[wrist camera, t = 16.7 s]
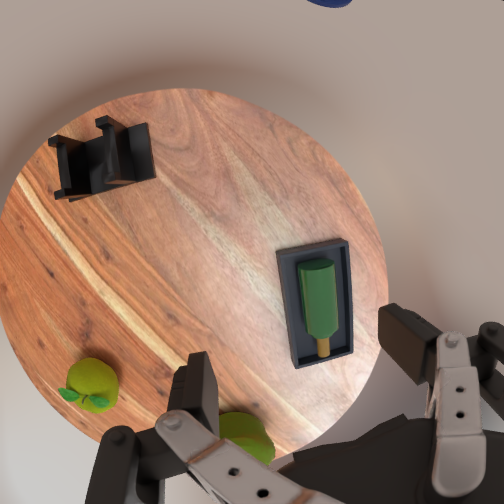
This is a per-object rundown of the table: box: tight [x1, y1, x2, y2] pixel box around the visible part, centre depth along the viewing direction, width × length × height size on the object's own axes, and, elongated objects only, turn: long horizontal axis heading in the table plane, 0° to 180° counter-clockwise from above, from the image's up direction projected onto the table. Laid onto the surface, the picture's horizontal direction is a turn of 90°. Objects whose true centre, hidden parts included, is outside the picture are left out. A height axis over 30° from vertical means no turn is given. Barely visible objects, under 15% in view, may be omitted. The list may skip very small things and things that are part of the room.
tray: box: [276, 238, 353, 369], centre depth 42 cm, size 19×10×3 cm, turn 10°
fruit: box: [58, 358, 119, 414], centre depth 37 cm, size 9×9×10 cm
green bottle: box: [297, 258, 339, 357], centre depth 40 cm, size 15×5×5 cm, turn 10°
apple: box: [219, 412, 275, 466], centre depth 42 cm, size 12×12×11 cm
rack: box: [48, 115, 156, 202], centre depth 31 cm, size 14×8×9 cm, turn 100°
